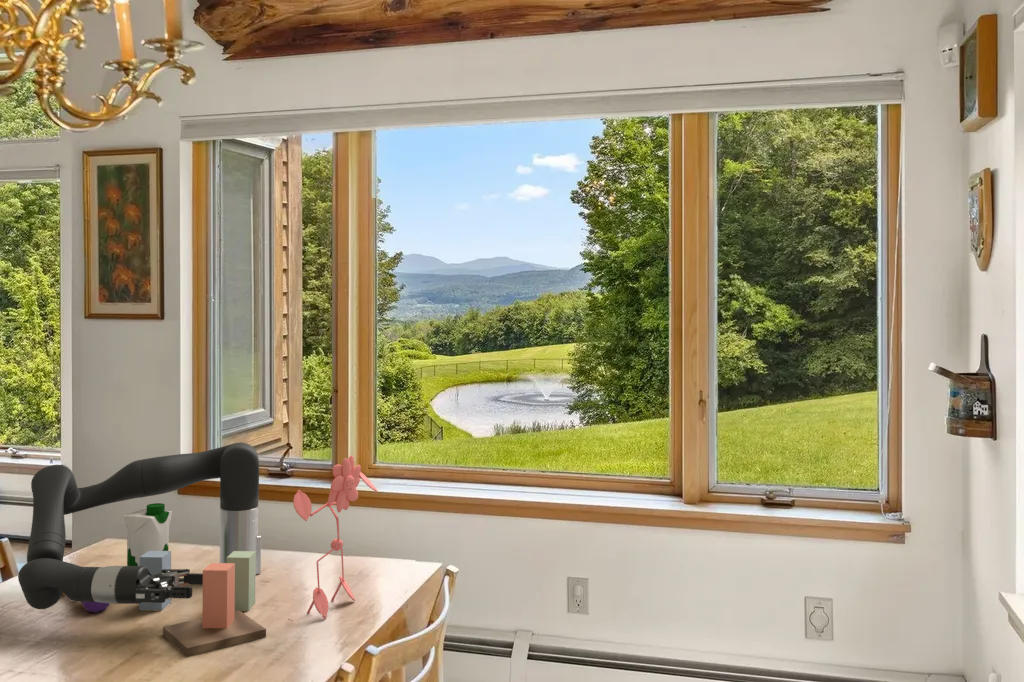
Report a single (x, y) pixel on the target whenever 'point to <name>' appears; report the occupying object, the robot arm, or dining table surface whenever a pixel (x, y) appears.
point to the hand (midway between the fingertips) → (199, 585)
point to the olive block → (244, 578)
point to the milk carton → (147, 531)
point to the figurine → (342, 493)
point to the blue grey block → (155, 564)
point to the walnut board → (212, 634)
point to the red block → (218, 595)
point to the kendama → (93, 605)
